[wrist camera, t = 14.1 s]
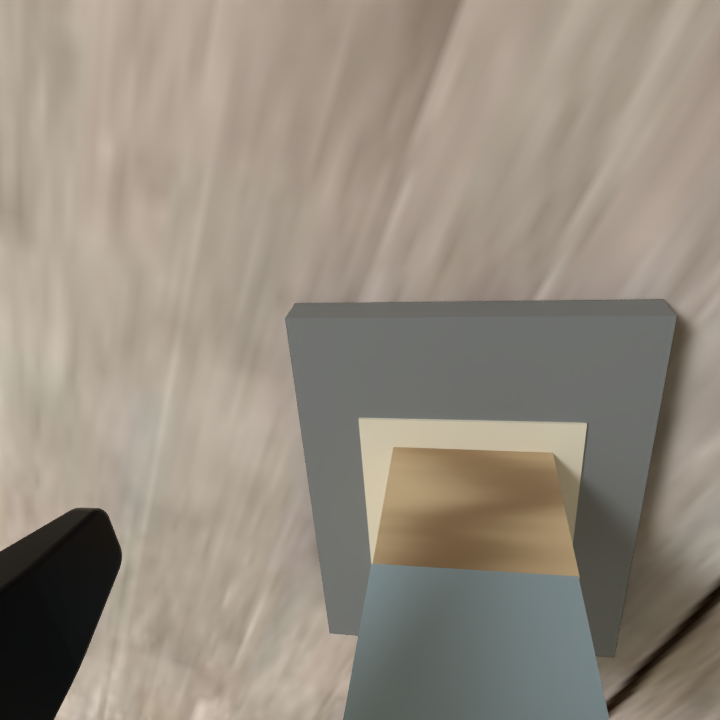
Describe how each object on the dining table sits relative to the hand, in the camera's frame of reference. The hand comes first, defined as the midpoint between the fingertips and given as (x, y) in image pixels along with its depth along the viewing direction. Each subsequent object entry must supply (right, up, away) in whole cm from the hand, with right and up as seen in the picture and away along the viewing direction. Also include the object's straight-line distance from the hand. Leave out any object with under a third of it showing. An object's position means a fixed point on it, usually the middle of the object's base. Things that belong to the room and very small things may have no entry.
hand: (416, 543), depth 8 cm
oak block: (+3, -3, +12) cm, 13 cm away
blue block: (+2, -5, +8) cm, 10 cm away
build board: (+3, -2, +13) cm, 14 cm away
